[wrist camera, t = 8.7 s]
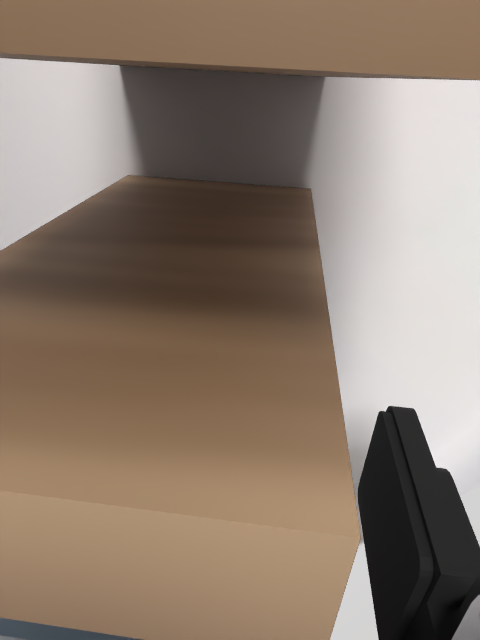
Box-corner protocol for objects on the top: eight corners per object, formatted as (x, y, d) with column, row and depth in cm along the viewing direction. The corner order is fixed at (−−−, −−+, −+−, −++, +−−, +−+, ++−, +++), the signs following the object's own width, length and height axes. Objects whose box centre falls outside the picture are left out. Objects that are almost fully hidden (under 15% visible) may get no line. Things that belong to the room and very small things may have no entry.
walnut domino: (127, 175, 12) (-330, 446, 3) (310, 189, 11) (359, 538, 3) (132, 238, 13) (-214, 584, 4) (302, 253, 12) (321, 666, 4)
